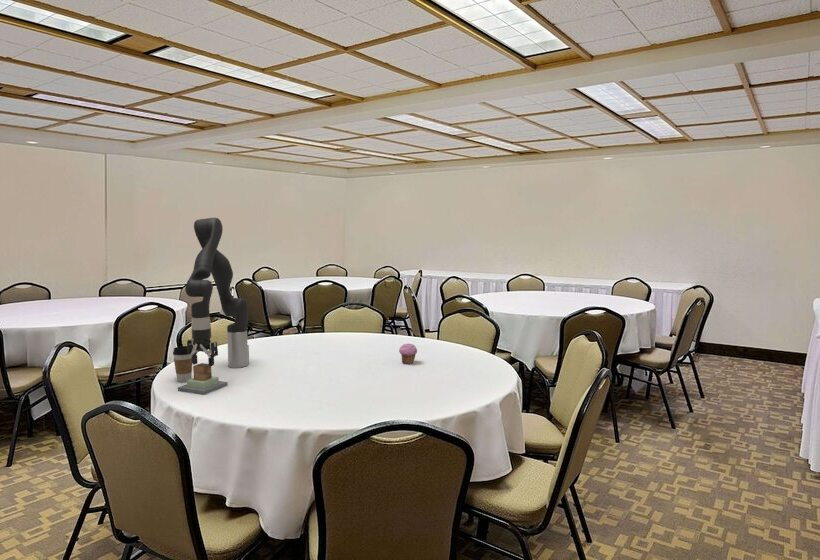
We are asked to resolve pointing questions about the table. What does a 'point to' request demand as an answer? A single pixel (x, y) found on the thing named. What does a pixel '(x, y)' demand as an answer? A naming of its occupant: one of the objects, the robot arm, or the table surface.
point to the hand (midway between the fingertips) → (203, 365)
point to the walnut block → (202, 372)
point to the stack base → (202, 391)
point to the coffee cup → (182, 364)
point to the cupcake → (408, 353)
